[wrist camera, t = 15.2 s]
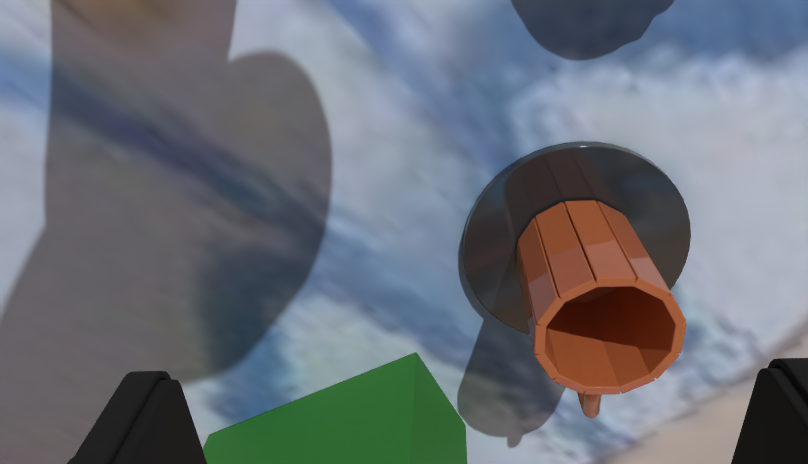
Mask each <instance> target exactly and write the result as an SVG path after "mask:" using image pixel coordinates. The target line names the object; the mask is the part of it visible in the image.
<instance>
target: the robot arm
mask: <svg viewBox="0 0 808 464" xmlns="http://www.w3.org/2000/svg"><path fill="white" fill-rule="evenodd" d="M67 464H207V462H206V459H205V456H204V453H203V450H202V447H201V444H200V441H199V438H198V435H197V432H196V429H195V426H194V423H193V420H192V417H191V414H190V411H189V408H188V405H187V402H186V399H185V396H184V393H183V390H182V387H181V385H180V383H179V381H178V380H172V379H171V377H170V375H169V374H168V373H167V372H166V371H143V372H130V373H128V374H127V375H126V376H125V377H124V378H123V380H122V381H121V383H120V385H119V386H118V388H117V389H116V391H115V393H114V394H113V396H112V397H111V399H110V401H109V402H108V404H107V405H106V407H105V408H104V410H103V412H102V413H101V415H100V416H99V418H98V420H97V421H96V423H95V424H94V426H93V428H92V429H91V431H90V432H89V434H88V435H87V437H86V439H85V440H84V442H83V443H82V445H81V447H80V448H79V450H78V451H77V453H76V454H75V456H74V457H73V458H72V459H70V461H69V462H68V463H67ZM731 464H808V358H786V359H774V360H772V361H771V362H770V364H769V366H768V368H764V369H761V370H760V371H759V373H758V375H757V378H756V382H755V385H754V388H753V392H752V395H751V398H750V402H749V406H748V409H747V412H746V415H745V419H744V422H743V426H742V429H741V432H740V436H739V439H738V442H737V446H736V449H735V452H734V456H733V459H732V463H731Z"/></svg>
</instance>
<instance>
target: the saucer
mask: <svg viewBox="0 0 808 464" xmlns="http://www.w3.org/2000/svg"><path fill="white" fill-rule="evenodd" d="M590 200H595V201H596V203H597V201H599V202H601V203H603V204H605V205H607V206H609V207H611V208H613V209H615V210H617V211H619V212H621V213H623V215H625V216H626V218H627V220H628V221H629V223H630V225H631V226H632V228H633V230H634V231H635V233H636V235H637V236H638V238H639V240H640V241H641V243H642V245H643V246H644V248H645V250H646V251H647V253H648V255H649V256H650V258H651V260H652V262H653V263H654V265H655V267H656V268H657V270H658V272H659V273H660V275H661V277H662V278H663V280H664V282H665V283H666V285H667V287H668V288H669V290H671V288H672V287H673V286H674V284H675V283H676V281H677V279H678V278H679V276H680V274H681V272H682V270H683V267H684V265H685V263H686V259H687V256H688V252H689V247H690V238H691V231H690V220H689V215H688V210H687V208H686V205H685V203H684V200H683V198H682V196H681V194H680V193H679V191H678V189H677V188H676V186H675V185H674V184H673V183H672V181H671V180H670V179H669V178H668V177H667V175H666V174H665V173H664V172H663V171H662V170H661V169H660V168H659V167H657V166H656V165H655V164H654V163H653V162H651V161H650V160H648V159H647V158H645V157H644V156H642V155H640V154H638V153H636V152H634V151H631V150H629V149H627V148H623V147H620V146H617V145H613V144H607V143H601V142H571V143H563V144H559V145H554V146H549V147H547V148H544V149H541V150H538V151H535V152H533V153H531V154H529V155H527V156H525V157H522V158H520V159H519V160H517V161H516V162H514V163H513V164H511V165H509V166H508V167H507V168H505V169H504V170H503V171H502V172H500V173H499V174H498V175H497V176H496V177H495V178H494V179H493V180H492V181H491V182H490V183H489V184H488V185H487V186H486V187H485V189H484V190H483V191H482V193H481V194H480V196H479V197H478V198H477V200H476V202H475V204H474V206H473V208H472V209H471V212H470V214H469V217H468V220H467V222H466V226H465V231H464V237H463V258H464V267H465V271H466V275H467V278H468V281H469V283H470V286H471V288H472V290H473V291H474V293H475V295H476V296H477V298H478V299H479V301H480V302H481V303H482V304H483V306H484V307H485V308H486V309H487V310H488V311H489V312H490V313H491V314H493V315H494V316H495V317H496V318H497V319H499V320H500V321H502V322H503V323H505V324H506V325H508V326H510V327H512V328H514V329H516V330H518V331H521V332H523V333H526V334H529V335H530V331H529V326H528V322H527V317H526V312H525V307H524V302H523V297H522V293H521V288H520V283H519V278H518V273H517V268H516V256H517V243H518V239H519V238H520V237H521V235H522V234H523V232H524V231H525V229H526V228H527V226H528V225H529V223H530V222H531V221H532V219H533V218H536V217H535V216H536V215H538V214H540V213H542V212H544V211H546V210H548V209H550V208H551V207H553V206H555V205H557V204H559V203H561V202H563V204H564V203H565V201H590Z"/></svg>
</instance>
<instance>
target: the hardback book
mask: <svg viewBox="0 0 808 464" xmlns="http://www.w3.org/2000/svg"><path fill="white" fill-rule="evenodd" d="M203 453H204V456H205V459H206V462H207V464H467V450H466V428H465V424H464V423H463V421H462V420H461V418H460V417H459V415H458V414H457V412H456V411H455V409H454V408H453V406H452V405H451V403H450V402H449V400H448V399H447V397H446V396H445V394H444V393H443V391H442V390H441V388H440V387H439V385H438V384H437V382H436V381H435V379H434V378H433V376H432V375H431V373H430V372H429V370H428V369H427V367H426V366H425V365H424V363H423V362H422V360H421V359H420V357H419V356H418V354H417V353H413V354H411V355H408V356H406V357H403V358H401V359H398V360H396V361H393V362H391V363H388V364H386V365H383V366H381V367H378V368H376V369H373V370H371V371H368V372H366V373H363V374H361V375H358V376H356V377H353V378H351V379H348V380H346V381H343V382H341V383H338V384H336V385H333V386H331V387H328V388H326V389H323V390H321V391H318V392H316V393H313V394H310V395H308V396H305V397H303V398H300V399H298V400H295V401H293V402H290V403H288V404H285V405H283V406H280V407H278V408H275V409H273V410H270V411H268V412H265V413H263V414H260V415H258V416H255V417H253V418H250V419H248V420H245V421H243V422H240V423H238V424H235V425H233V426H230V427H228V428H225V429H223V430H220V431H218V432H215V433H213V434H210V435H209V436H208V439H207V441H206V443H205V445H204V448H203Z"/></svg>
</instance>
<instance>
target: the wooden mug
mask: <svg viewBox="0 0 808 464" xmlns="http://www.w3.org/2000/svg"><path fill="white" fill-rule="evenodd" d="M535 217H536V218H533V219H532V221H531V222H530V223H529V225H528V226H527V228H526V229H525V231H524V232H523V234H522V235H521V237H520V238H519V239H518V243H517V256H516V268H517V273H518V278H519V283H520V288H521V293H522V297H523V302H524V307H525V312H526V317H527V322H528V326H529V331H530V336H531V341H532V346H533V351H534V354H535V357H536V359H537V360H538V362H539V363H540V364H541V366H542V367H543V369H544V370H545V372H546V373H547V375H548V376H549V377H550V379H553V381H554V382H556V383H558V384H561V385H563V386H565V387H567V388H570V389H572V390H574V391H576V392H577V394H578V397H579V401H580V404H581V408H582V411H583V413H584V415H585V416H587V417H589V418H594V417H596V416H597V415H598V414H599V411H600V403H601V395H602V394H620V391H621V393H625V392H628V391H630V390H633V389H635V388H638V387H640V386H643V385H645V384H647V383H650V382H652V381H654V380H655V379H654V377H655V378H659V377H660V375H661V374H662V373H663V372H664V371H665V370H666V369H667V368H668V367H669V366H670V365H671V364H672V363H673V362H674V361H675V360H676V359H677V357H678V356H679V353H681V351H682V345H683V340H684V335H685V330H686V325H687V324H686V319H685V317H684V315H683V313H682V312H681V310H680V308H679V306H678V304H677V302H676V301H675V299H674V297H673V295H672V293H671V292H670V290H669V288H668V287H667V285H666V283H665V282H664V280H663V278H662V277H661V275H660V273H659V272H658V270H657V268H656V267H655V265H654V263H653V262H652V260H651V258H650V256H649V255H648V253H647V251H646V250H645V248H644V246H643V245H642V243H641V241H640V240H639V238H638V236H637V235H636V233H635V231H634V230H633V228H632V226H631V225H630V223H629V221H628V220H627V218H626V216H625V215H623V213H621V212H619V211H617V210H615V209H613V208H611V207H609V206H607V205H605V204H603V203H601V202H599V201H597V203H596V201H595V200H590V201H565V203H564V204H563V202H561V203H559V204H557V205H555V206H553V207H551V208H550V209H548V210H546V211H544V212H542V213H540V214H538V215H536V216H535Z"/></svg>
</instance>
